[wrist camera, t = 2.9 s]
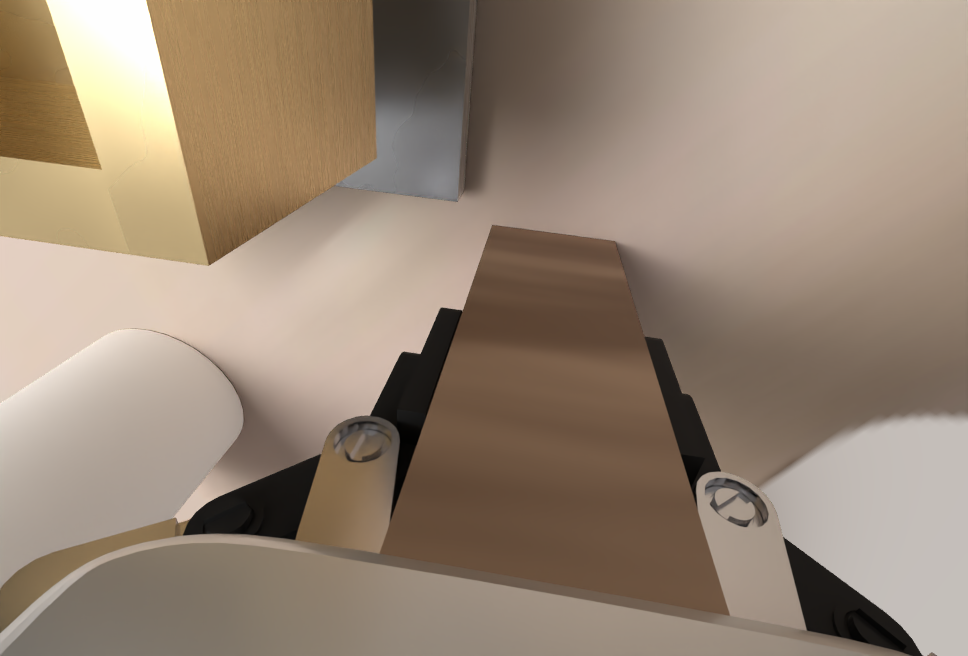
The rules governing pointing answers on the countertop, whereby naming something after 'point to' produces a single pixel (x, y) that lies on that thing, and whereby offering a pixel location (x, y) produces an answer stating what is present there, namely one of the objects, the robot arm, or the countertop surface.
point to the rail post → (554, 437)
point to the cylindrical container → (109, 443)
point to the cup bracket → (222, 115)
